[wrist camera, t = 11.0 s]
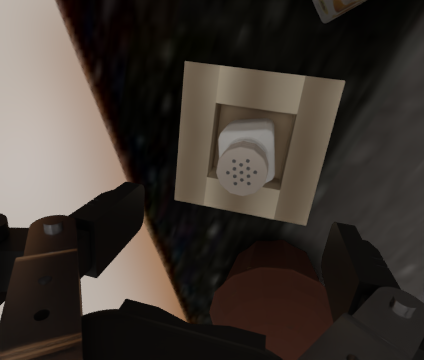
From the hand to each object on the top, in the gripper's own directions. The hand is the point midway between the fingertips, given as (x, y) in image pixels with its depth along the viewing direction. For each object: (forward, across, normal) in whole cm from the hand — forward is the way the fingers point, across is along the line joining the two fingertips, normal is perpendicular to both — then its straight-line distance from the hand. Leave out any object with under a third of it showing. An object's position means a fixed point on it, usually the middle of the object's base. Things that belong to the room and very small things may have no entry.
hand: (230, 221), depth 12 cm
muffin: (+17, -4, +15) cm, 23 cm away
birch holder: (+16, 0, 0) cm, 17 cm away
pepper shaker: (+16, 0, 0) cm, 16 cm away
